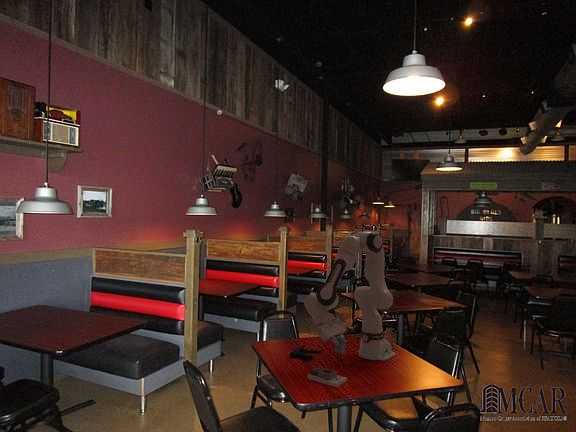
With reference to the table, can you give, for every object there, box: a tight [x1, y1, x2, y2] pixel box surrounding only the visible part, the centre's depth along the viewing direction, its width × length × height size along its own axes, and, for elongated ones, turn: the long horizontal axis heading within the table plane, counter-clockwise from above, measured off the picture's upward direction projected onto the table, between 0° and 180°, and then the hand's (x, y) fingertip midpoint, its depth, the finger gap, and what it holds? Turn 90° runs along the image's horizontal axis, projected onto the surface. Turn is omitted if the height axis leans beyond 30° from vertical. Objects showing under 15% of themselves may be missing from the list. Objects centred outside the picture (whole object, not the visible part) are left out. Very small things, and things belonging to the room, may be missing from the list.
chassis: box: [306, 367, 348, 388], centre depth 192 cm, size 16×10×4 cm, turn 53°
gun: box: [289, 344, 323, 362], centre depth 231 cm, size 24×3×15 cm
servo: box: [334, 334, 348, 355], centre depth 204 cm, size 6×3×8 cm, turn 53°
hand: (341, 343), depth 204 cm, fingers closed on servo, 3 cm apart
